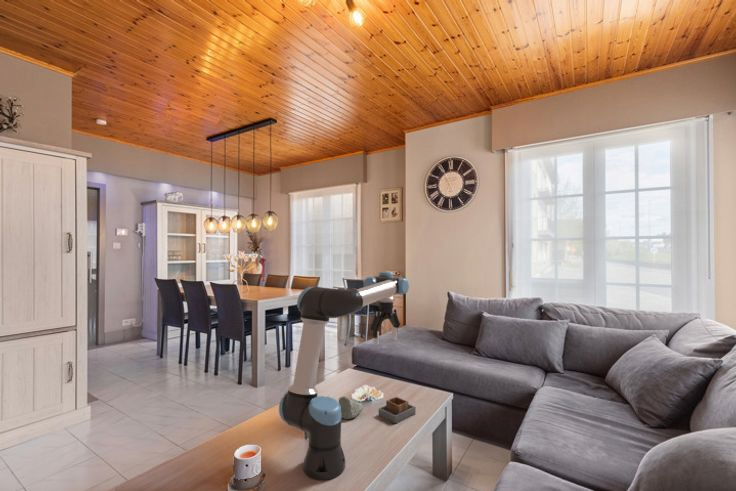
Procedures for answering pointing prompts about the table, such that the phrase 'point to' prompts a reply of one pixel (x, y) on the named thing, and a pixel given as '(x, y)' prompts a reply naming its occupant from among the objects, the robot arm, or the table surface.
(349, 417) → the decorative stone
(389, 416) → the tray
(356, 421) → the table surface
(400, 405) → the walnut crate
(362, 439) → the table surface
